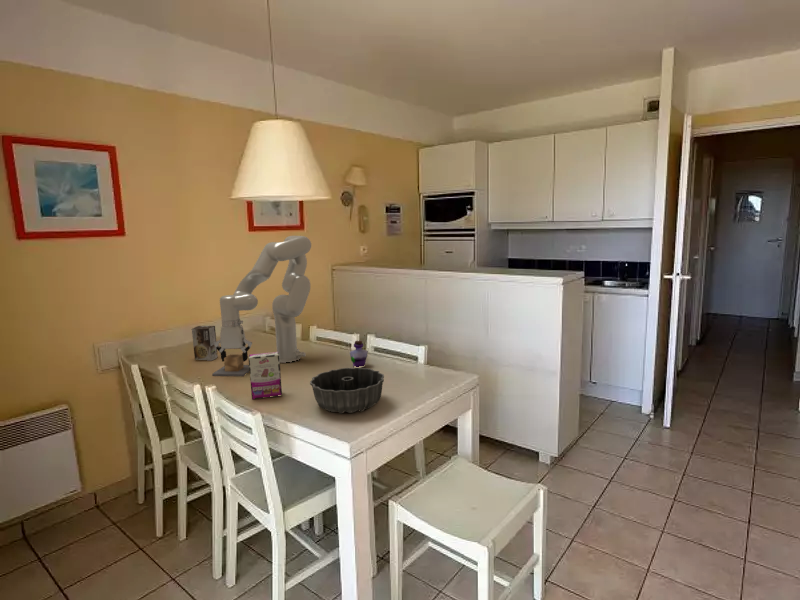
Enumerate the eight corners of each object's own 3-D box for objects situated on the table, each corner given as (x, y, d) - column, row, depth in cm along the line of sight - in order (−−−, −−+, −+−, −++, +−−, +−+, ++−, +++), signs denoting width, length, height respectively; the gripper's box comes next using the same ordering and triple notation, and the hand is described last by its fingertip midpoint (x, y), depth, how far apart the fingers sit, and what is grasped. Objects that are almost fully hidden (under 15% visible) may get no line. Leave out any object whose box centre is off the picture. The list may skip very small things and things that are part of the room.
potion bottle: (346, 368, 212) (345, 342, 210) (355, 362, 220) (355, 337, 218) (362, 370, 208) (362, 344, 206) (372, 364, 216) (371, 339, 214)
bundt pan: (295, 409, 166) (294, 382, 164) (344, 387, 188) (343, 363, 186) (353, 425, 151) (352, 396, 150) (399, 399, 173) (398, 373, 171)
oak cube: (243, 367, 213) (242, 354, 212) (238, 371, 207) (237, 358, 206) (231, 367, 213) (230, 354, 212) (224, 371, 207) (223, 358, 206)
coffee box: (218, 357, 234) (215, 325, 231) (212, 360, 227) (209, 328, 225) (200, 357, 235) (198, 325, 232) (194, 360, 228) (191, 328, 226)
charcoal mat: (255, 367, 216) (255, 365, 216) (243, 376, 203) (243, 374, 203) (226, 366, 217) (225, 364, 217) (212, 375, 205) (212, 373, 204)
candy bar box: (281, 392, 183) (279, 351, 181) (282, 396, 178) (279, 354, 176) (251, 395, 180) (248, 353, 178) (251, 399, 176) (248, 357, 173)
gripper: (253, 321, 210) (256, 358, 213) (216, 321, 211) (220, 358, 214) (246, 325, 202) (250, 363, 205) (208, 325, 204) (212, 363, 207)
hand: (234, 360), depth 210 cm, fingers open, 9 cm apart
